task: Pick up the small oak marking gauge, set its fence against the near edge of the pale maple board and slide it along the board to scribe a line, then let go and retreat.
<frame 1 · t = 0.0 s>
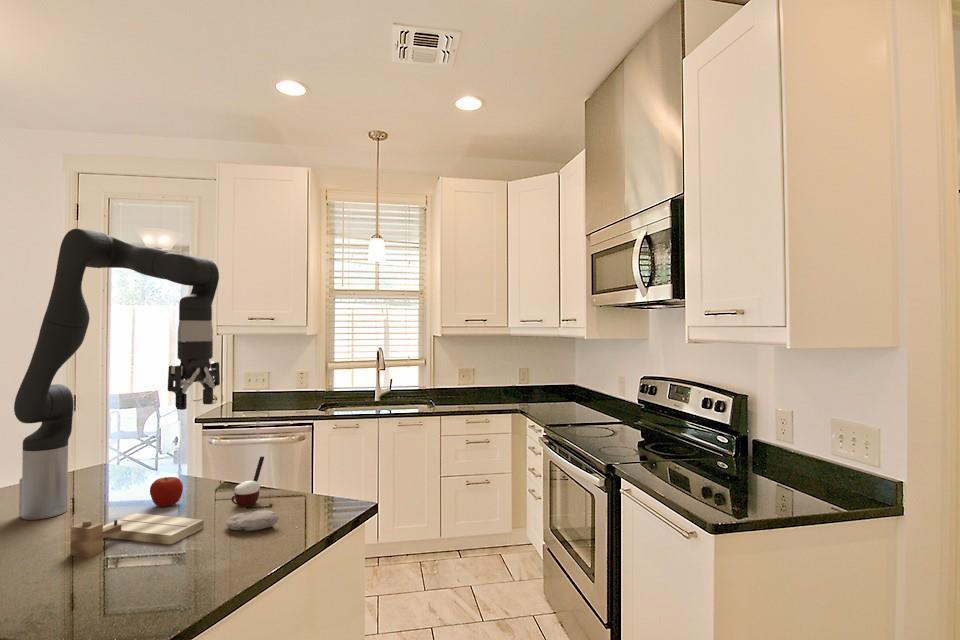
hand: (194, 406, 130), 29 cm above the counter, fingers open, 8 cm apart
fossil: (251, 529, 130), on the counter
apple: (166, 506, 146), on the counter
board: (151, 532, 127), on the counter
cocoa: (248, 504, 147), on the counter
gauge: (86, 553, 115), on the counter
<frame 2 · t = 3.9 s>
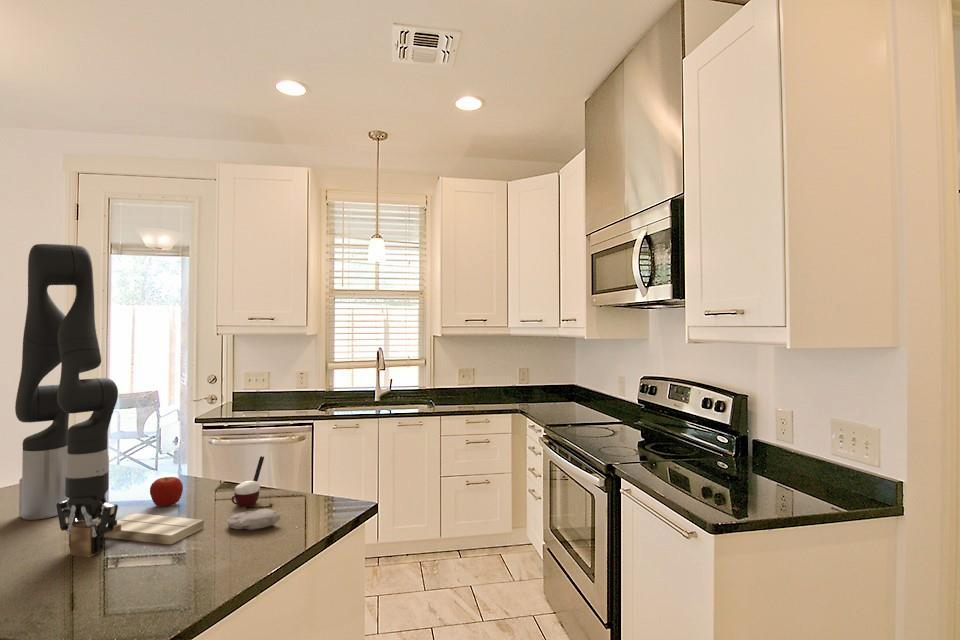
hand: (86, 551, 115), 0 cm above the counter, fingers closed on gauge, 5 cm apart
gauge: (86, 553, 115), on the counter, touching gripper
everything else where it was.
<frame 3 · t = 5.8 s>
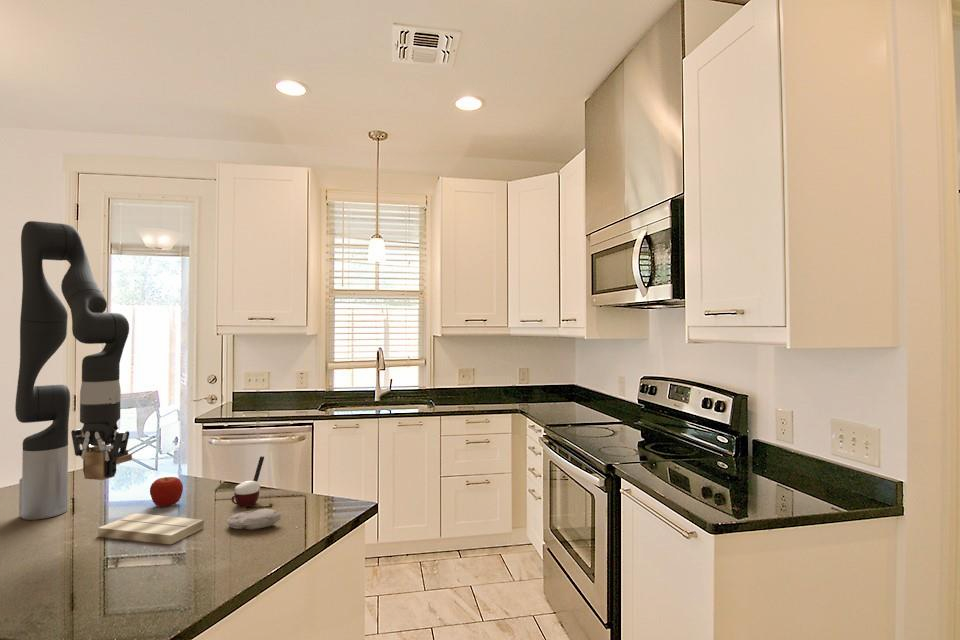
hand: (99, 475, 122), 15 cm above the counter, fingers closed on gauge, 5 cm apart
gauge: (99, 477, 122), point 14 cm above the counter, touching gripper
everything else where it was.
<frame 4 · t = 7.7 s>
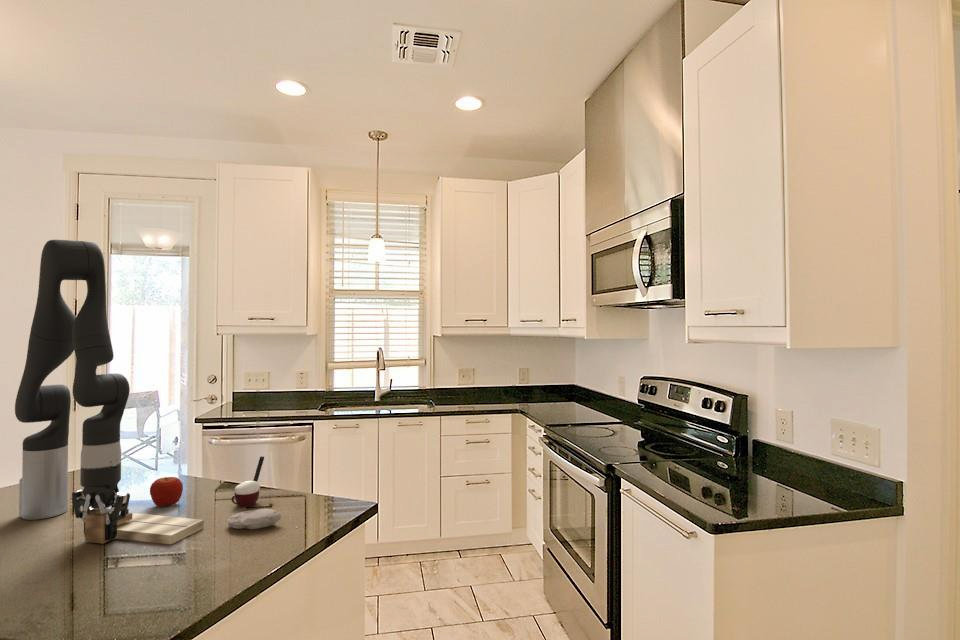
hand: (100, 537, 121), 1 cm above the counter, fingers closed on gauge, 5 cm apart
gauge: (100, 539, 121), on the counter, touching gripper
everything else where it was.
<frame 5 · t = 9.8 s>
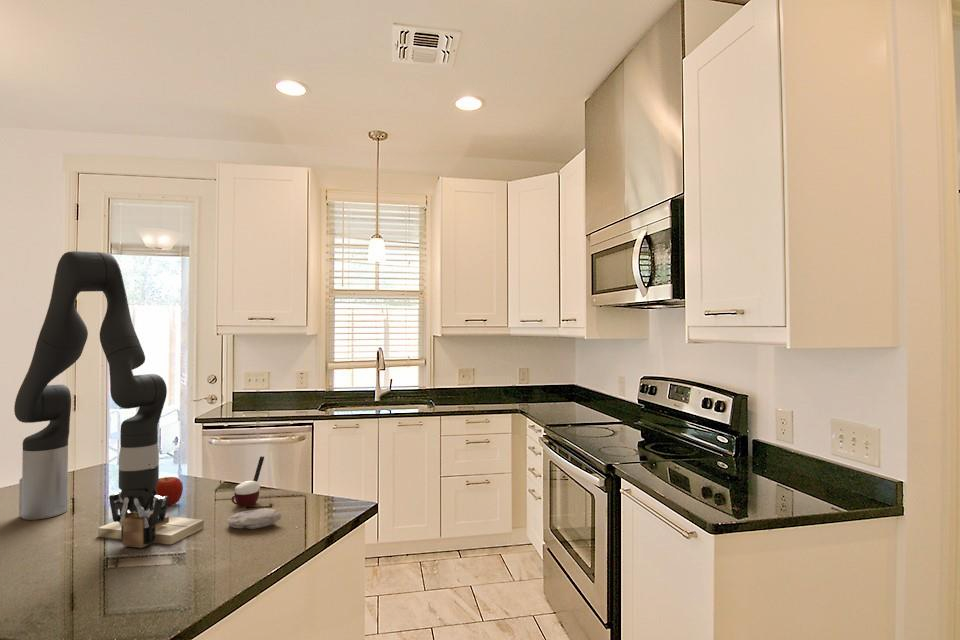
hand: (138, 541, 119), 1 cm above the counter, fingers closed on gauge, 5 cm apart
gauge: (138, 543, 119), on the counter, touching gripper
when the fingers open (1 cm above the counter, at t = 11.5 s): gauge stays where it is, on the counter.
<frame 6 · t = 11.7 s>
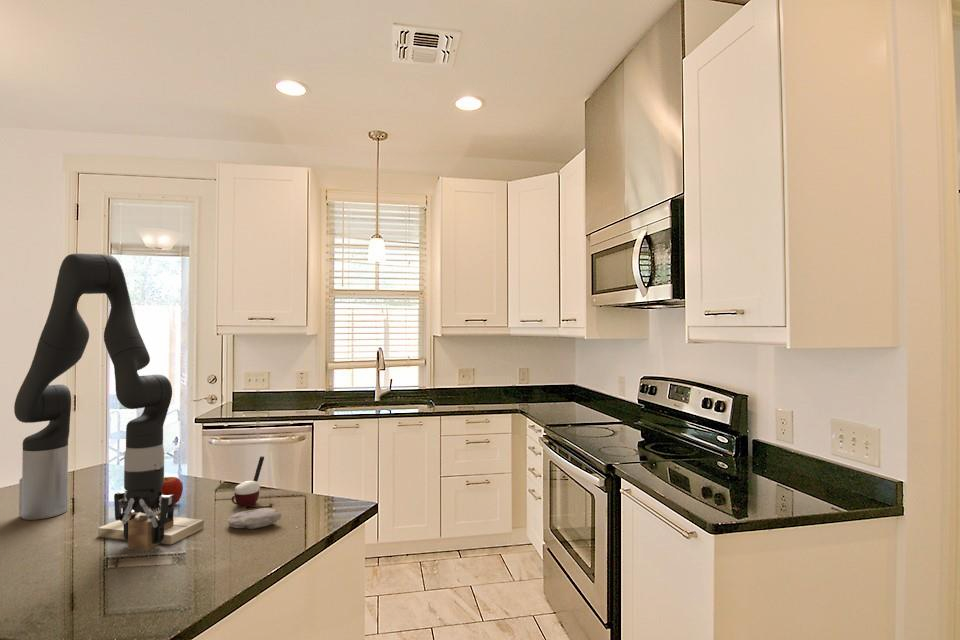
hand: (143, 540, 119), 1 cm above the counter, fingers open, 6 cm apart
gauge: (143, 546, 119), on the counter
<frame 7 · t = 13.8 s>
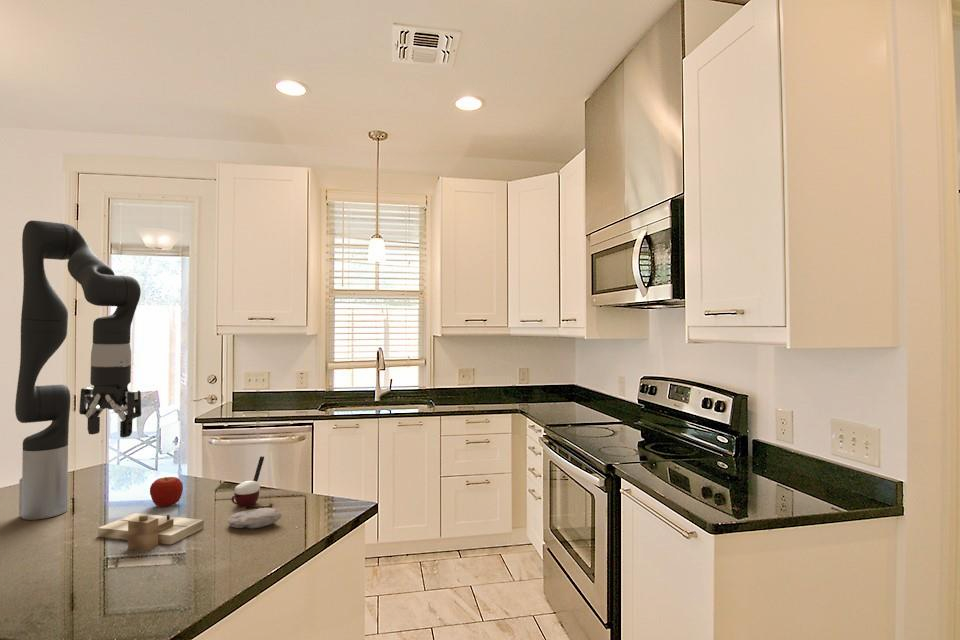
hand: (109, 435, 121), 24 cm above the counter, fingers open, 8 cm apart
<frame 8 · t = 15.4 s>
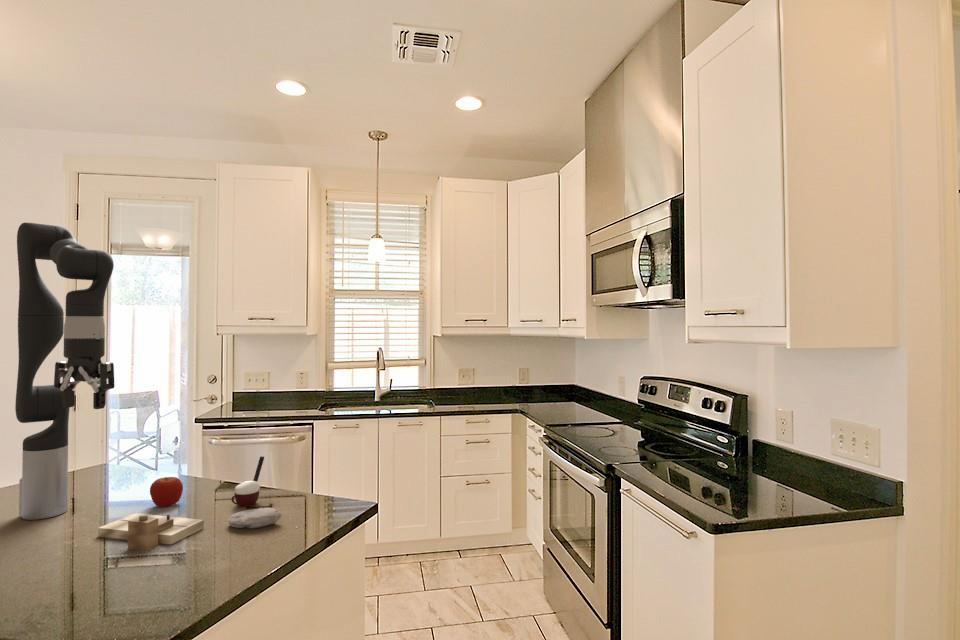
hand: (83, 407, 122), 30 cm above the counter, fingers open, 8 cm apart
at the end: gauge 0.7 cm from the target spot on the counter beside the board, on the counter; gauge tilted 0°; the gripper is holding nothing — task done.
